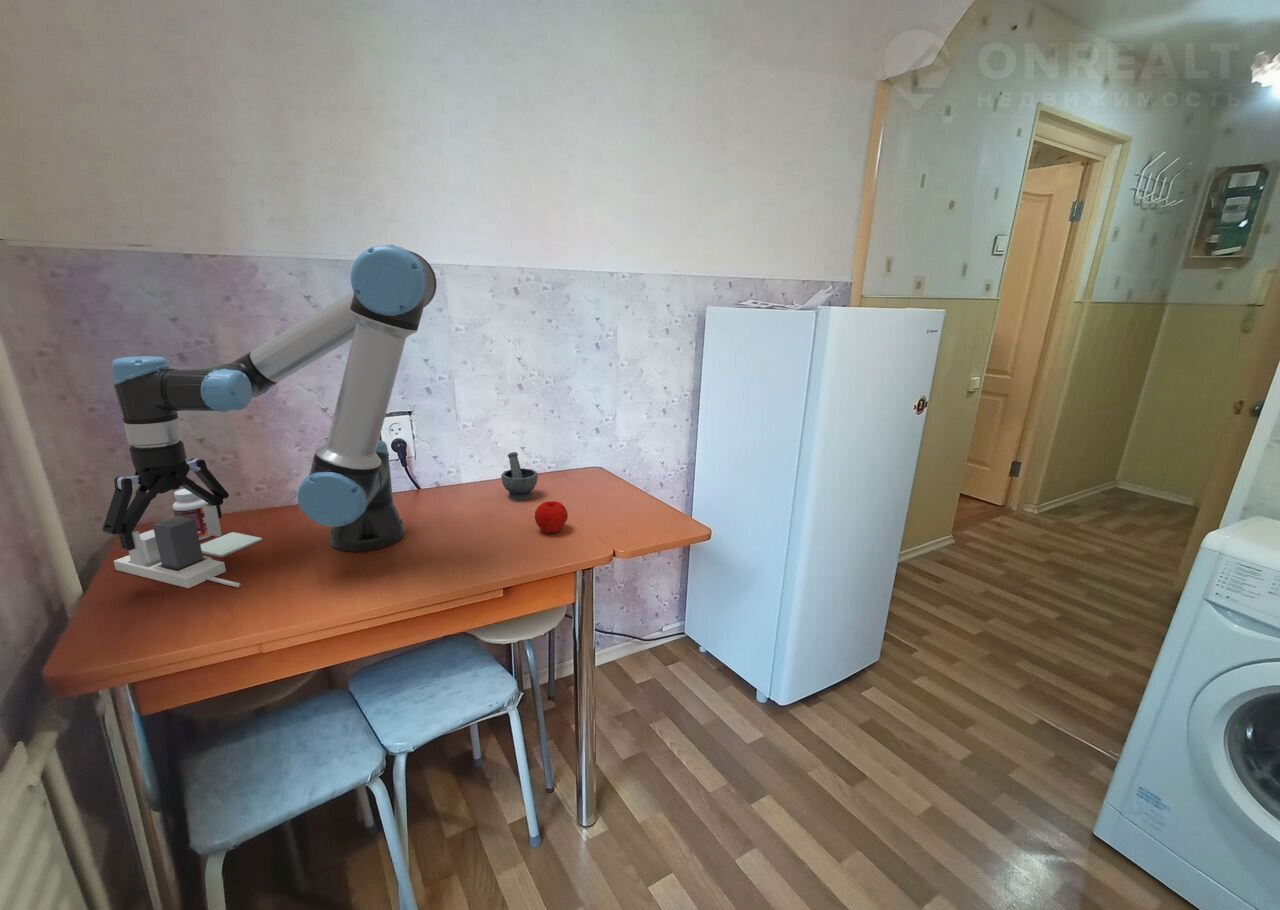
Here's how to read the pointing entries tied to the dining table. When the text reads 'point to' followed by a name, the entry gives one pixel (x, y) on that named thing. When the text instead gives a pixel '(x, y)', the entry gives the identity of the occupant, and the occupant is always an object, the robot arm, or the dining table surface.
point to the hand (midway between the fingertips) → (179, 548)
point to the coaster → (228, 544)
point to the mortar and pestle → (519, 479)
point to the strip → (179, 578)
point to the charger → (178, 543)
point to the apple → (551, 516)
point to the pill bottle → (191, 510)
